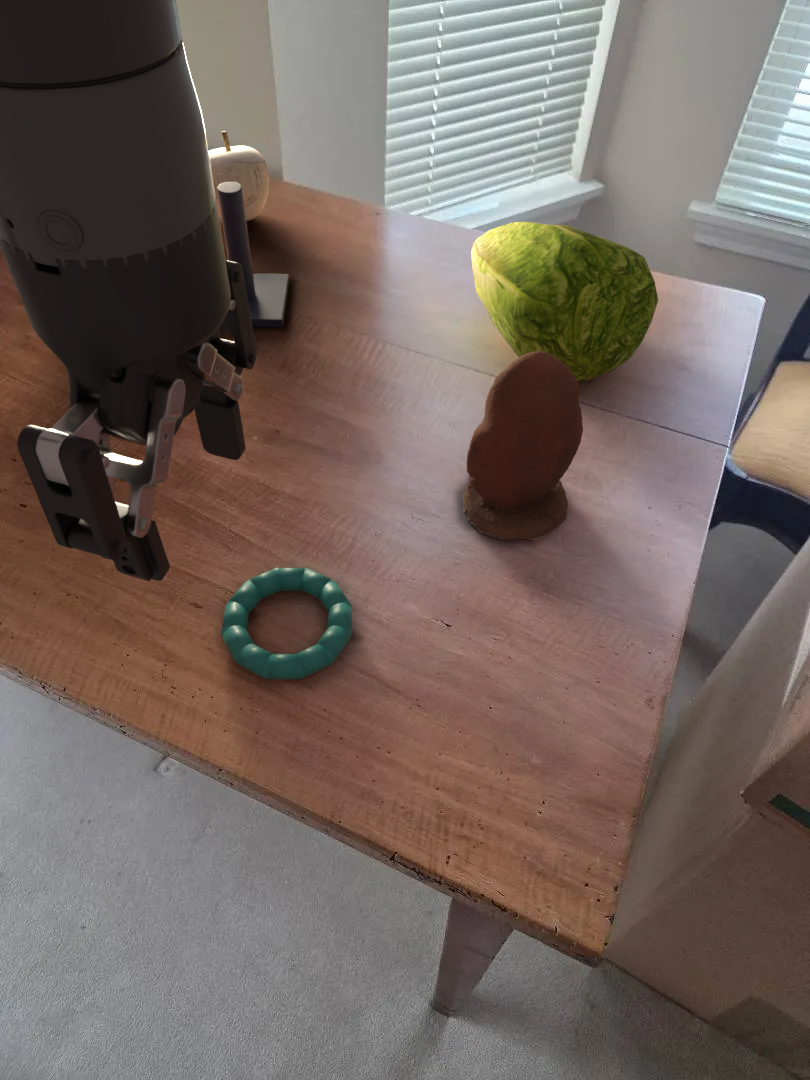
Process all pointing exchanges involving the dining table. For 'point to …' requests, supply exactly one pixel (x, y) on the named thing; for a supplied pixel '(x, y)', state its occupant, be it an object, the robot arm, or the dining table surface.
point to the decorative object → (241, 174)
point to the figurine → (524, 449)
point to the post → (261, 288)
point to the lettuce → (565, 294)
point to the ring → (287, 664)
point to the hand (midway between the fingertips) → (188, 508)
